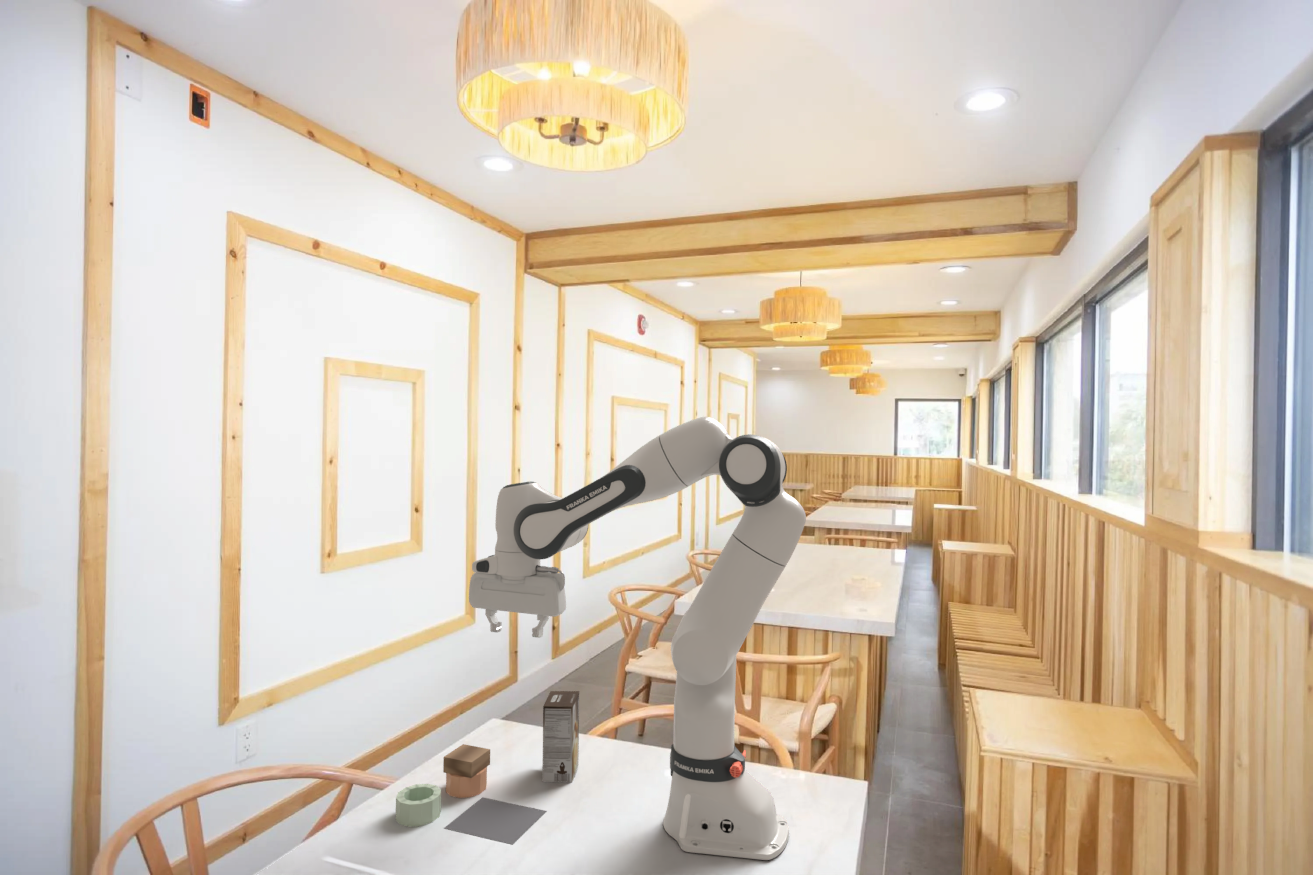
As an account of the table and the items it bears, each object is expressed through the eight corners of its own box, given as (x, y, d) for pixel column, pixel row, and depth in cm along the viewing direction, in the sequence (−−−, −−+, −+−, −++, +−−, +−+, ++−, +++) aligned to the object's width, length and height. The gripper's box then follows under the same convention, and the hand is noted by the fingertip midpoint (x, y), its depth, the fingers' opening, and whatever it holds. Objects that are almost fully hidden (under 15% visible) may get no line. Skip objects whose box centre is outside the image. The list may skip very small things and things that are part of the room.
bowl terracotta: (493, 785, 145) (494, 763, 146) (471, 803, 138) (472, 779, 138) (461, 778, 148) (462, 756, 148) (438, 796, 141) (438, 772, 141)
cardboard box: (490, 764, 145) (490, 749, 145) (471, 777, 139) (471, 762, 139) (462, 758, 147) (463, 743, 147) (443, 772, 141) (443, 756, 141)
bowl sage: (448, 812, 135) (449, 788, 135) (422, 832, 128) (422, 807, 128) (414, 804, 138) (415, 780, 138) (387, 824, 130) (387, 799, 130)
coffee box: (549, 764, 155) (550, 689, 155) (579, 765, 155) (580, 690, 155) (541, 785, 146) (542, 705, 146) (573, 785, 146) (574, 705, 146)
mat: (546, 814, 135) (547, 810, 135) (512, 847, 124) (512, 844, 124) (482, 800, 140) (482, 796, 140) (443, 831, 128) (443, 827, 128)
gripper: (572, 565, 142) (571, 635, 142) (483, 557, 150) (482, 625, 149) (556, 570, 137) (555, 644, 136) (464, 562, 144) (463, 632, 144)
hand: (516, 634), depth 143 cm, fingers open, 8 cm apart
